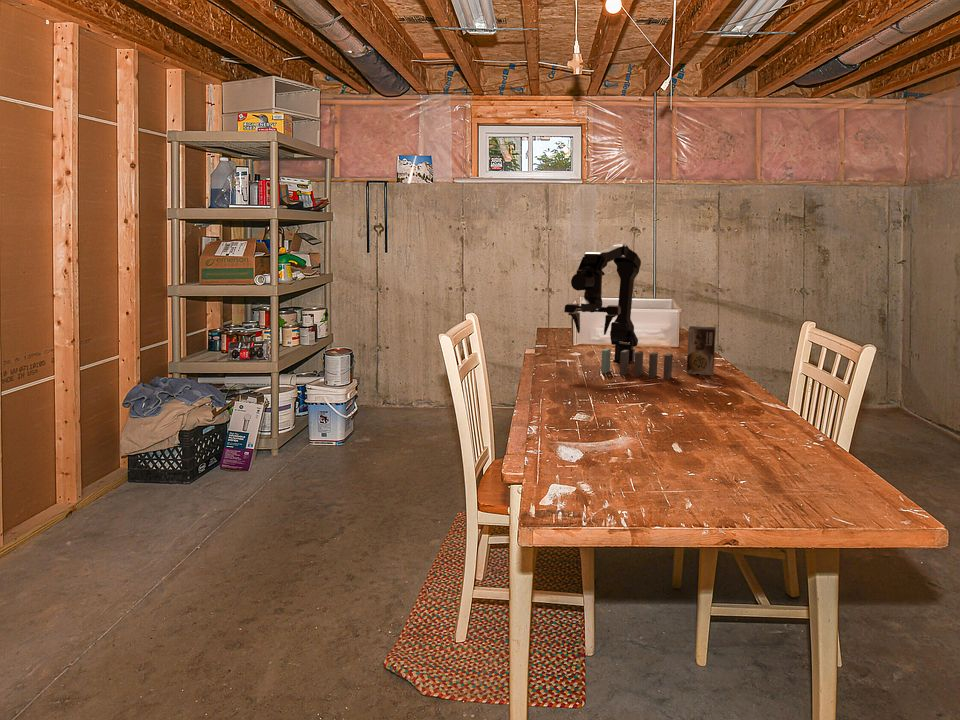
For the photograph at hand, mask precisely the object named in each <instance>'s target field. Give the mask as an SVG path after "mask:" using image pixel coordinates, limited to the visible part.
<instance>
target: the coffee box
mask: <svg viewBox="0 0 960 720" xmlns="http://www.w3.org/2000/svg"><path fill="white" fill-rule="evenodd" d="M687 330H688V331H687V333H688V334H687V354H686V373H685V374H686V375H696V374H699V375H698V376H714V373H715V357H716V356H715V355H716V334H717V327H716V326H688V329H687Z"/></svg>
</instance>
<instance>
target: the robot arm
mask: <svg viewBox="0 0 960 720" xmlns="http://www.w3.org/2000/svg"><path fill="white" fill-rule="evenodd" d="M611 261H613V262H614V264H615V266H616V273H617V274H618V277H619V278H620V279H619V281H620V282H619V293H618V302H617V303H618V304H617V305H614V304H609V305H607V306H603V298H602V293H603V292H602V286H603V285H602V284H603V276H605V274H606V273H605V272H604V271H603V270H604V269H605V268H606V267H607V266H608V263H610V262H611ZM641 265H642V260H641V258H640V257H639V255H638V253H637V252H635V251H634V250H632V249H630V248H629V246H628V245H626V244H622V243H621V244H620V243H619V244H618V243H617V244H614V245H611V246H609V247H608V248H607V247H606V248H605V249H603V250H600V251H587V252H585V253H584V254H583V257H582V259H581V260H580V263H579V265H578V268H577V269H576V273H575V274H573V276H572V277H571V280H570V283H571V288H572V289H573V290H575V291H584V293H583V298H582V300H581V302H580V304H579V303H573V302H572V303H567V304H566V303H565V305H564V308H563V309H564V311H563V312H564V313H567V315H568V316H570V317H571V318H572V320H573V322H574V325H575V328H576V332H577V333H578V334H580V332H581V313H580V312H582V313H587V312H588V313H606V315H605V316H604V317H605V321H604V328H603V335H606V334H607V331H608V329H609V328H610V332H609V337H610V343H611V345H613V346H614V359H613V360H612V362H613V363H620V352H621V351H623V350H629V364H631V363H633V362H635V353H636V350H635V349H634V348H635V347H638V344H639V339H638V336H637V335H636V332H635V325H634V324H633V321H632V319H631V318H632V317H631V316H632V304H633V292H634V282H635V279H636V277H638V274H639V273H640V268H641ZM615 317H616V318H615ZM614 318H615V320H614V321H612V320H613V319H614ZM609 326H610V327H609Z"/></svg>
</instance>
